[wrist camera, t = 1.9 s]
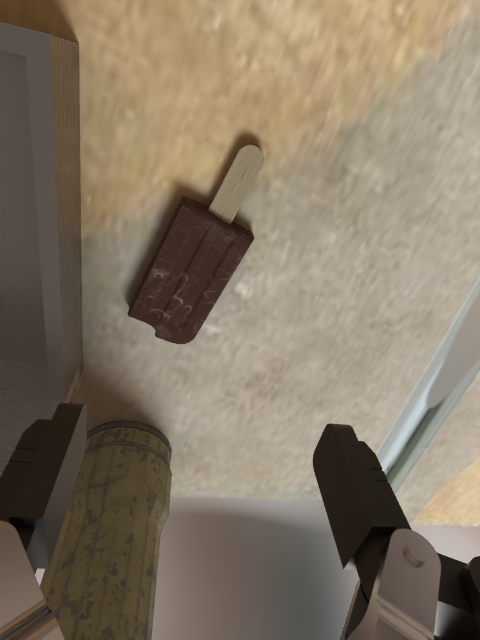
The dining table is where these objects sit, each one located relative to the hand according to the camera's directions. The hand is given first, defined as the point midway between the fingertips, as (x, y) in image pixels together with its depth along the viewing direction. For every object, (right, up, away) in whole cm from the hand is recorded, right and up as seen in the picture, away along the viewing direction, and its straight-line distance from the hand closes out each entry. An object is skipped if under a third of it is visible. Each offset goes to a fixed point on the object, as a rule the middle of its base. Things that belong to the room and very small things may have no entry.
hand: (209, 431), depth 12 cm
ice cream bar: (-2, +9, +14) cm, 17 cm away
